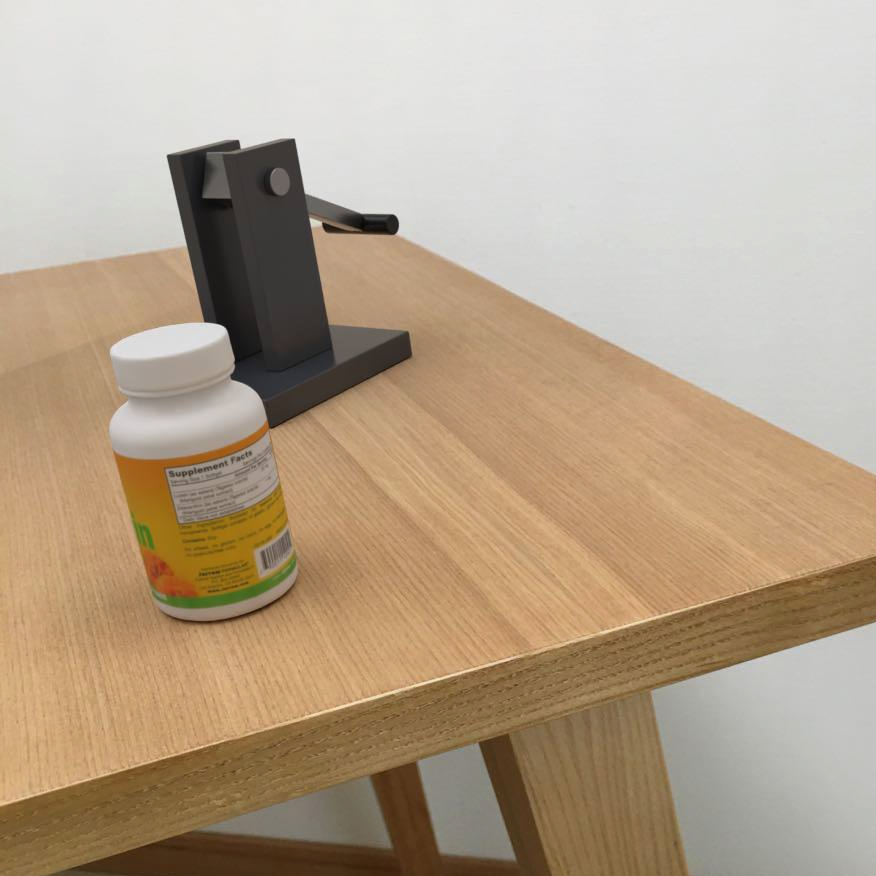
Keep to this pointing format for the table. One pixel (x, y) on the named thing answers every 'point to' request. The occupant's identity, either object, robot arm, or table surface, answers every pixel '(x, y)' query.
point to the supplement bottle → (199, 475)
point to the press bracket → (271, 280)
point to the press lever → (318, 209)
